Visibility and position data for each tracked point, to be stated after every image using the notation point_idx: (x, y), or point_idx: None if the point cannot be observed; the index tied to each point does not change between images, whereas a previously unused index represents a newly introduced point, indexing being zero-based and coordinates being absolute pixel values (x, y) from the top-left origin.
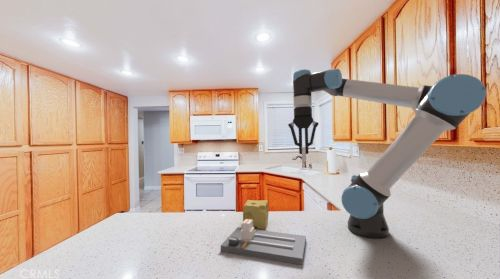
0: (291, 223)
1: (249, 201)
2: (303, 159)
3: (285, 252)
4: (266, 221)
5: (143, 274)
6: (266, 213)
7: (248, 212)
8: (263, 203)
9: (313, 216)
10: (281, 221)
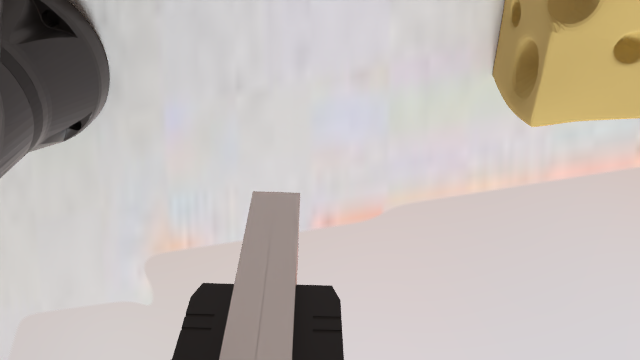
0: (371, 69)
1: None
2: (280, 213)
3: None
4: (507, 26)
5: None
6: (518, 58)
7: None
8: (564, 61)
9: (267, 171)
10: (421, 84)
